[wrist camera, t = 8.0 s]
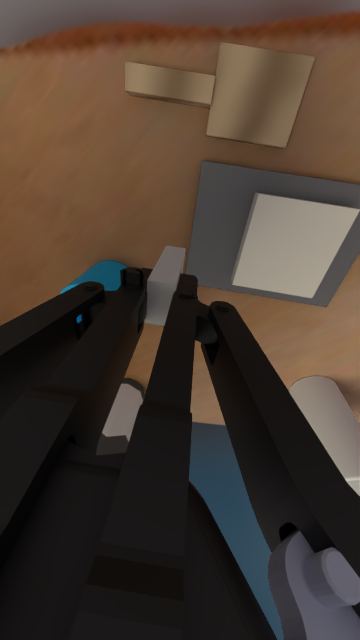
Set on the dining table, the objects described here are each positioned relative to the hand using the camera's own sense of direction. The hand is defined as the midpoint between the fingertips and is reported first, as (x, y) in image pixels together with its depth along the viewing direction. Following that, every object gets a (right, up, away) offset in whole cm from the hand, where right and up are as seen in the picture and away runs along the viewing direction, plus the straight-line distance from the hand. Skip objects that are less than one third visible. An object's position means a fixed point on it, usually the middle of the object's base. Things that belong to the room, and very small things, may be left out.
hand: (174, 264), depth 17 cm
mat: (+12, +5, +10) cm, 17 cm away
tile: (+8, +5, +8) cm, 12 cm away
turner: (+4, +17, +4) cm, 18 cm away
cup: (+26, -18, +24) cm, 39 cm away
